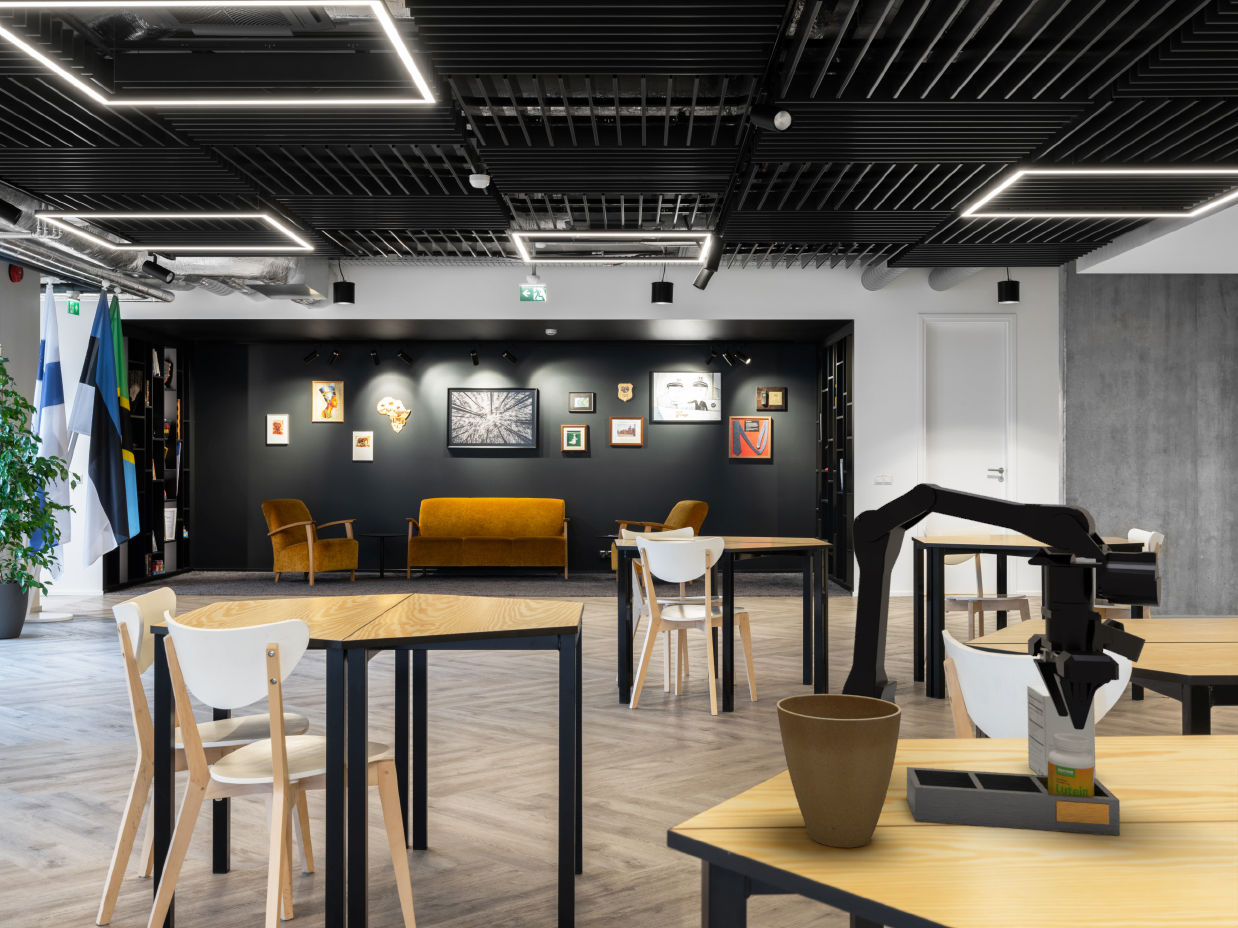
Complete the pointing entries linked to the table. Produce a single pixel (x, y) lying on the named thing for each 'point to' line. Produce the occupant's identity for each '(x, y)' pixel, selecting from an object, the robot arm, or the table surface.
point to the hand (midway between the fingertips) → (1070, 722)
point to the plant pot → (839, 762)
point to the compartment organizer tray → (1008, 802)
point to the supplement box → (1051, 728)
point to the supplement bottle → (1070, 766)
